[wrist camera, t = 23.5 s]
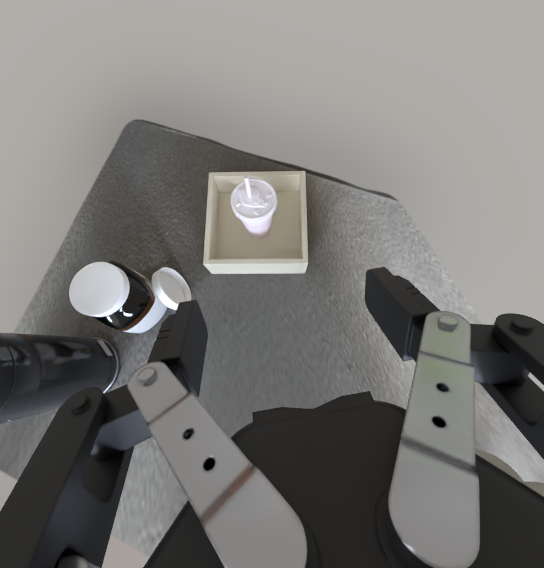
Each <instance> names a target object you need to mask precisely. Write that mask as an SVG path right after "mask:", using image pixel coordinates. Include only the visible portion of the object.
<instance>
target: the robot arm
mask: <svg viewBox="0 0 544 568" xmlns="http://www.w3.org/2000/svg"><path fill="white" fill-rule="evenodd" d="M365 302H366V306H367V309H368V310H369V312H370V313H371V315H372V316H373V318H374V319H375V321H376V322H377V324H378V325H379V327H380V328H381V330H382V331H383V332H384V334H385V335H386V337H387V338H388V340H389V341H390V343H391V344H392V346H393V347H394V349H395V350H396V352H397V353H398V355H399V356H400V357H401V359H402V360H403V361H407V360H412V359H414V360H415V362H416V367H415V371H414V376H413V381H412V386H411V391H410V396H409V400H408V405H407V410H405V409H403V408H401V407H399V406H396V405H394V404H390V403H387V402H382V401H374V400H373V398H372V395H371V393H370V391H368V392H362V393H357V394H351V395H346V396H341V397H339V398H336V399H334V400H332V401H330V402H328V403H325V404H323V405H321V406H319V407H317V408H314V409H302V408H286V407H280V408H274V409H269V410H263V411H258V412H253V422H252V423H250V424H248V425H247V426H245V427H243V428H242V429H240V430H239V431H238V432H237V433H235V434H234V435H233V436H232V437H231V438H230V437H229V436H228V435H227V433H226V432H225V431H224V430H223V429H222V427H221V426H220V425H219V424H218V423H217V421H216V420H215V419H214V418H213V417H212V415H211V414H210V413H209V412H208V411H207V409H206V408H205V407H204V406H203V405H202V403H201V402H200V401H199V400H198V399H197V397H199V391H200V385H201V378H202V372H203V365H204V358H205V352H206V345H207V338H208V333H207V327H206V323H205V321H204V318H203V315H202V312H201V309H200V307H199V304H198V302H197V300H191V301H185V302H180V303H179V305H178V307H177V310H176V313H175V314H173V315H169V316H168V318H167V319H166V320H165V321H164V322H163V323H162V326H161V328H160V331H159V333H158V336H157V340H156V341H155V344H154V346H153V349H152V351H151V354H150V357H149V359H148V362H147V364H145V365H143V366H141V367H140V368H138V369H137V370H136V371H135V372H134V373H133V374H132V375H131V376H130V378H129V380H128V384H126V385H124V386H122V387H120V388H117V389H115V390H113V391H110V392H108V393H106V392H107V391H108V390H109V389H110V388H111V387H112V386H113V385H114V383H115V381H116V379H117V377H118V374H119V370H120V358H119V354H118V352H117V350H116V348H115V347H114V346H113V345H112V344H111V343H110V342H109V341H107V340H105V339H102V338H97V337H88V338H85V337H68V336H50V335H31V334H13V333H0V424H1V423H5V422H9V421H12V420H16V419H20V418H23V417H27V416H31V415H34V414H38V413H42V412H46V411H49V410H53V409H57V408H59V410H58V411H57V413H56V415H55V417H54V418H53V420H52V422H51V424H50V425H49V427H48V429H47V431H46V433H45V434H44V436H43V438H42V440H41V441H40V443H39V445H38V447H37V448H36V450H35V452H34V454H33V455H32V457H31V459H30V461H29V462H28V464H27V466H26V468H25V469H24V471H23V473H22V475H21V476H20V478H19V480H18V482H17V483H16V485H15V487H14V489H13V490H12V492H11V494H10V496H9V497H8V499H7V501H6V503H5V505H4V506H3V508H2V510H1V511H0V568H101V567H102V564H103V560H104V556H105V552H106V549H107V545H108V541H109V538H110V534H111V530H112V527H113V523H114V519H115V516H116V512H117V508H118V505H119V501H120V497H121V493H122V490H123V486H124V482H125V479H126V475H127V471H128V468H129V464H130V460H131V457H132V453H133V449H134V445H136V444H138V443H140V442H142V441H144V440H146V439H148V438H150V437H152V436H153V437H154V439H155V441H156V442H157V444H158V446H159V448H160V450H161V451H162V453H163V455H164V457H165V459H166V460H167V462H168V464H169V466H170V468H171V469H172V471H173V473H174V475H175V477H176V478H177V480H178V482H179V484H180V486H181V487H182V489H183V491H184V493H185V495H186V496H187V498H188V501H187V502H186V504H185V505H184V507H183V508H182V510H181V511H180V513H179V514H178V516H177V517H176V519H175V521H174V522H173V524H172V525H171V527H170V528H169V530H168V531H167V533H166V534H165V536H164V537H163V539H162V540H161V542H160V543H159V545H158V546H157V548H156V549H155V551H154V552H153V554H152V555H151V557H150V558H149V560H148V561H147V563H146V564H145V566H144V567H143V568H544V496H542V495H540V494H539V493H537V492H536V491H534V490H532V489H531V488H529V487H528V486H526V485H525V484H523V483H521V482H520V481H518V480H517V479H515V478H514V477H512V476H510V475H509V474H507V473H506V472H504V471H503V470H501V469H499V468H498V467H496V466H495V465H493V464H491V463H490V462H488V461H487V460H485V459H484V458H482V457H480V456H479V455H477V454H476V453H475V382H479V383H480V384H481V385H482V386H483V387H484V388H485V390H486V391H487V392H488V393H489V394H490V396H491V397H492V398H493V399H494V400H495V402H496V403H497V404H498V405H499V406H500V408H501V409H502V410H503V411H504V412H505V414H506V415H507V416H508V417H509V418H510V420H511V421H512V422H513V423H514V424H515V426H516V427H517V428H518V429H519V430H520V432H521V433H522V434H523V435H524V436H525V438H526V439H527V440H528V441H529V442H530V444H531V445H532V446H533V447H534V448H535V450H536V451H537V452H538V453H539V454H540V456H541V457H542V458H543V459H544V391H543V390H542V389H540V388H539V387H538V386H537V385H536V384H535V383H534V382H533V381H532V380H531V379H530V378H529V377H528V375H529V373H530V372H531V373H532V374H533V375H534V376H535V377H536V378H537V379H538V380H539V381H540V382H541V383H542V384H543V385H544V324H542V323H541V322H539V321H537V320H536V319H533V318H531V317H528V316H524V315H520V314H502V315H500V316H498V317H497V318H496V321H495V323H494V325H481V324H469V322H468V321H467V320H466V319H465V318H463V317H462V316H460V315H458V314H455V313H452V312H447V311H440V310H439V309H438V308H437V307H436V306H435V305H434V304H433V303H432V302H431V301H429V300H428V299H427V298H426V297H425V296H424V295H423V294H421V292H420V291H419V290H418V289H417V288H415V286H414V285H413V284H411V283H410V282H409V281H408V280H406V279H404V278H402V277H400V276H398V275H397V276H393V275H392V274H391V273H390V272H389V271H388V270H387V269H386V268H385V267H381V268H376V269H370V270H367V272H366V285H365ZM105 393H106V394H105Z"/></svg>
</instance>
